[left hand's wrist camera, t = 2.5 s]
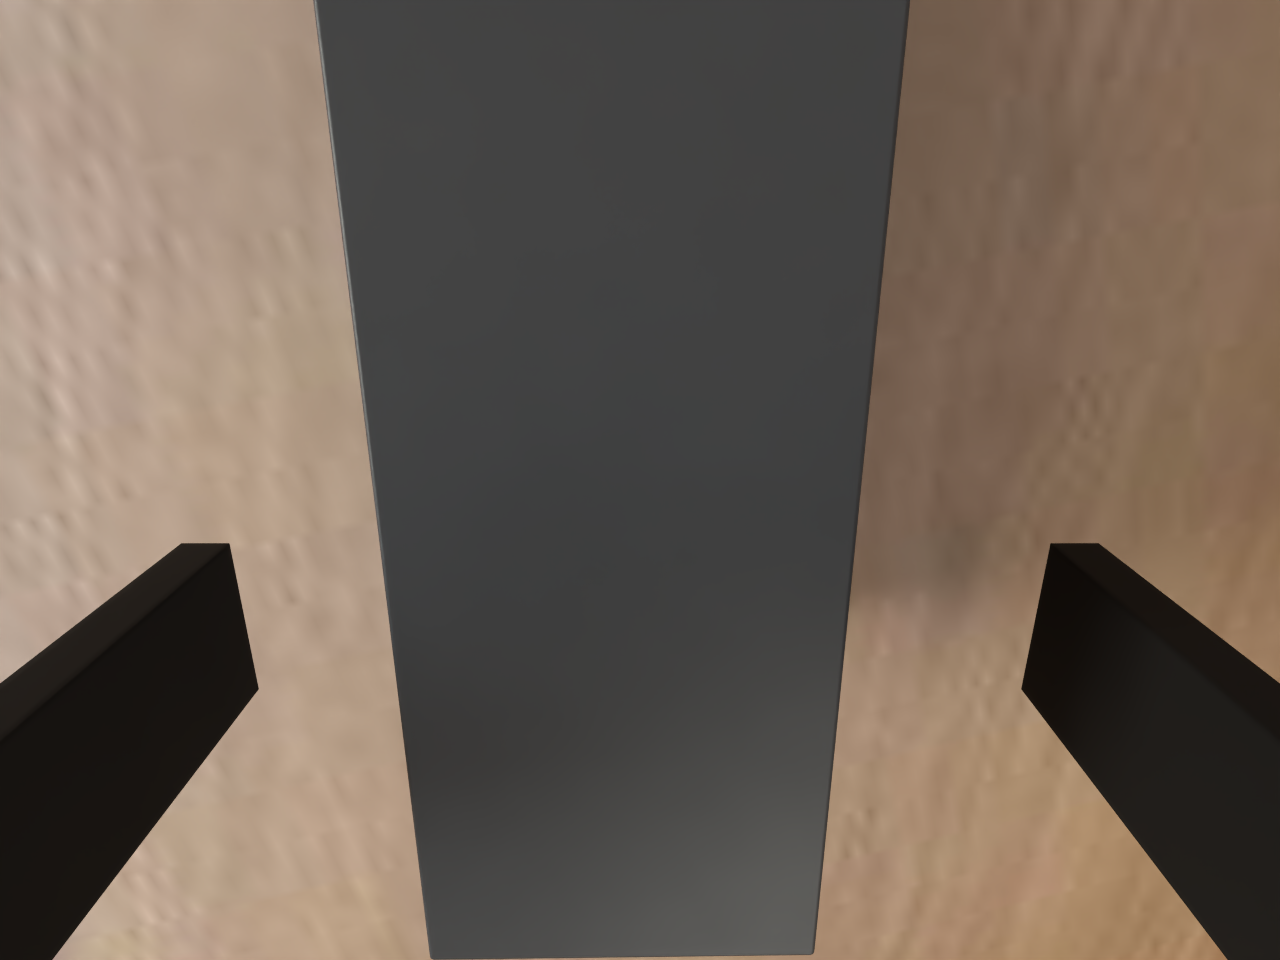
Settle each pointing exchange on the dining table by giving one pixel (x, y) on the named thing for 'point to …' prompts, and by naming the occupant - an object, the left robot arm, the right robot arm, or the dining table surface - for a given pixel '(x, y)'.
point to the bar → (616, 443)
